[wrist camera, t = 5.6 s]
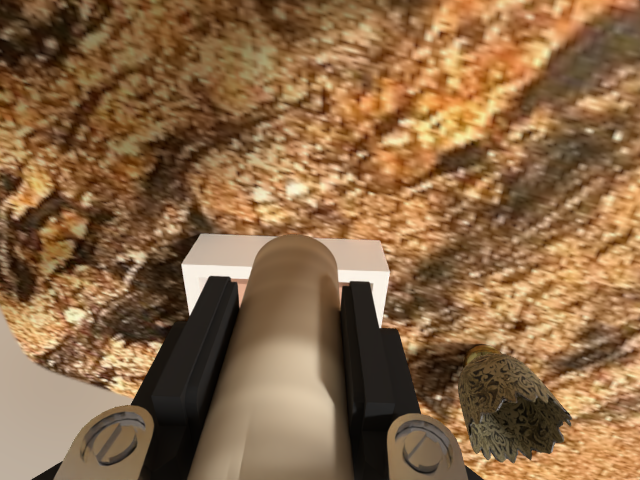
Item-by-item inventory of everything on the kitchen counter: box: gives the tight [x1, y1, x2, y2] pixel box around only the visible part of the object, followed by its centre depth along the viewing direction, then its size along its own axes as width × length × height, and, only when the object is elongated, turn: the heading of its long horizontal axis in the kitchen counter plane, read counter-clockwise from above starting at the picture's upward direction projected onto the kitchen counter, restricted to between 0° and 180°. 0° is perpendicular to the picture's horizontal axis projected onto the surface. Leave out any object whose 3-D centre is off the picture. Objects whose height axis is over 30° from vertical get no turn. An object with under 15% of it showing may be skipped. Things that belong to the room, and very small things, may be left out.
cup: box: [458, 345, 572, 463], centre depth 31 cm, size 8×7×8 cm
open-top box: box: [181, 234, 390, 328], centre depth 30 cm, size 16×14×4 cm
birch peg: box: [187, 234, 354, 480], centre depth 8 cm, size 3×3×10 cm
